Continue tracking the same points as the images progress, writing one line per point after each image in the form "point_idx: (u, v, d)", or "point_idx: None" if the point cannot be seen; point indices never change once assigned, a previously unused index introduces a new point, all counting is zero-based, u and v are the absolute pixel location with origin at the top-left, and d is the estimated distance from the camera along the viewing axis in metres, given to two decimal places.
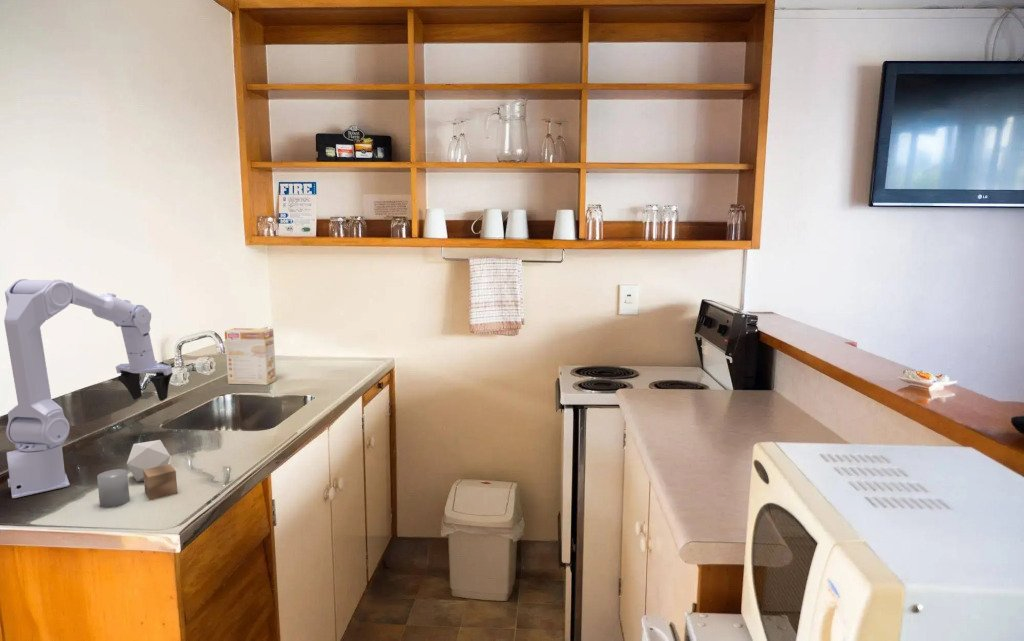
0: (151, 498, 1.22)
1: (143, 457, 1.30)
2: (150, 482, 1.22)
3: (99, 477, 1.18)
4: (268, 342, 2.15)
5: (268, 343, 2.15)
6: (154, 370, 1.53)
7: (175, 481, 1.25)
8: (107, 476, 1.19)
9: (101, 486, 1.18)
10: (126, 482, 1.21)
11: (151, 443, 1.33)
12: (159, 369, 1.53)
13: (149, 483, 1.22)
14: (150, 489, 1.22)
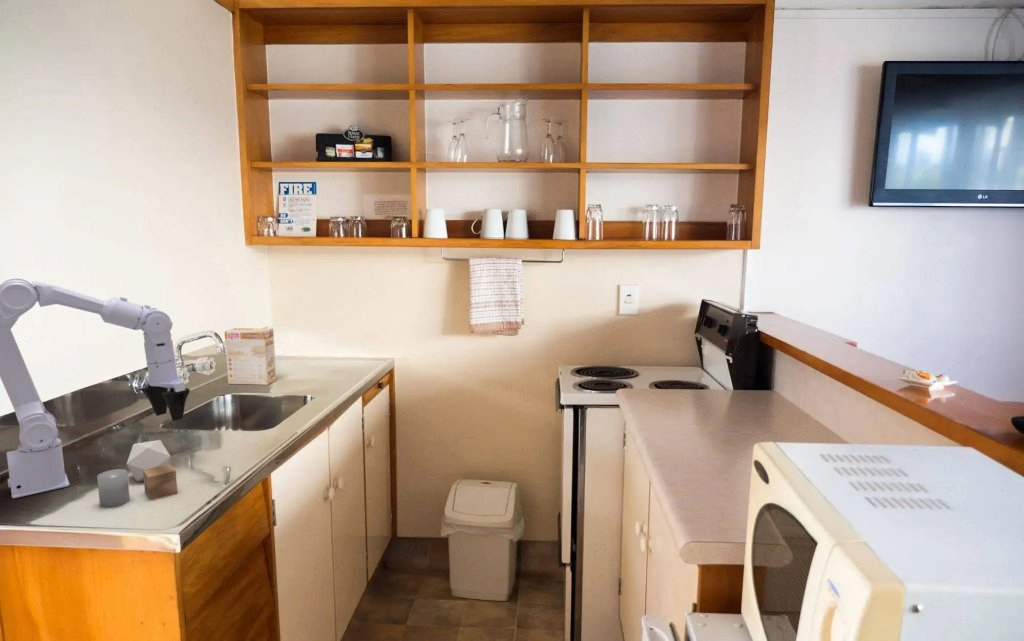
0: (151, 498, 1.22)
1: (143, 457, 1.30)
2: (150, 482, 1.22)
3: (99, 477, 1.18)
4: (268, 342, 2.15)
5: (268, 343, 2.15)
6: (166, 385, 1.37)
7: (175, 481, 1.25)
8: (107, 476, 1.19)
9: (101, 486, 1.18)
10: (126, 482, 1.21)
11: (151, 443, 1.33)
12: (170, 384, 1.37)
13: (149, 483, 1.22)
14: (150, 489, 1.22)
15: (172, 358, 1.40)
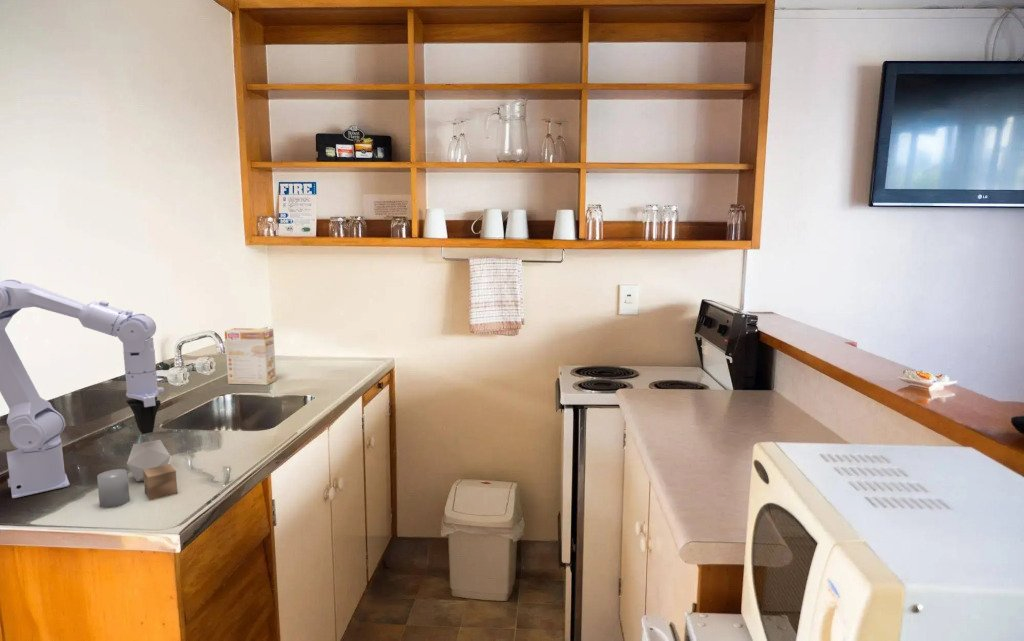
0: (151, 498, 1.22)
1: (143, 457, 1.30)
2: (150, 482, 1.22)
3: (99, 477, 1.18)
4: (268, 342, 2.15)
5: (268, 343, 2.15)
6: (138, 398, 1.27)
7: (175, 481, 1.25)
8: (107, 476, 1.19)
9: (101, 486, 1.18)
10: (126, 482, 1.21)
11: (151, 443, 1.33)
12: (141, 398, 1.26)
13: (149, 483, 1.22)
14: (150, 489, 1.22)
15: (148, 370, 1.29)
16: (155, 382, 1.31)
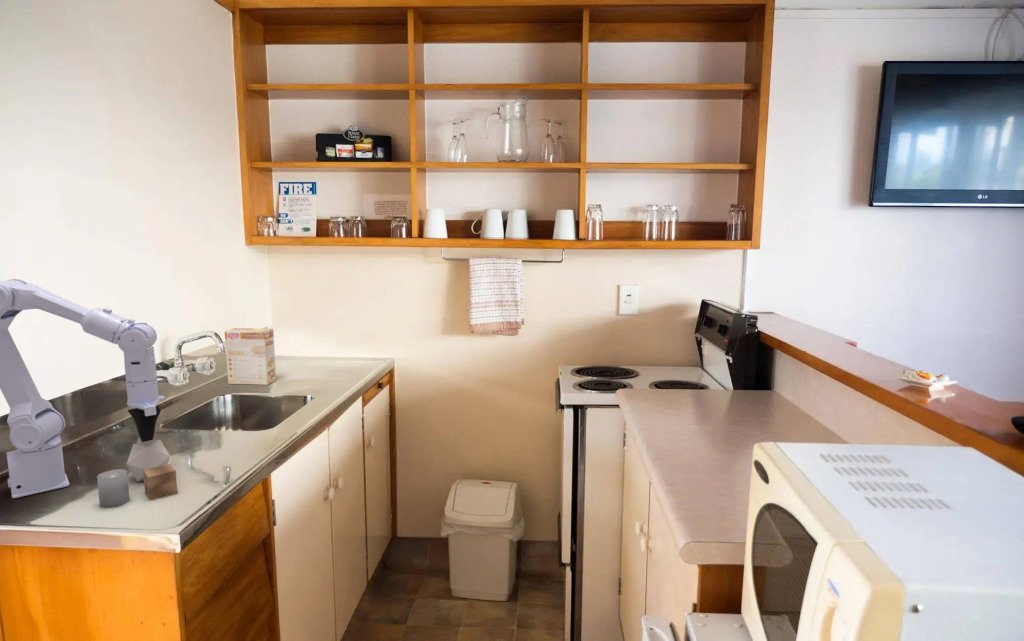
0: (151, 498, 1.22)
1: (143, 457, 1.30)
2: (150, 482, 1.22)
3: (99, 477, 1.18)
4: (268, 342, 2.15)
5: (268, 343, 2.15)
6: (138, 407, 1.27)
7: (175, 481, 1.25)
8: (107, 476, 1.19)
9: (101, 486, 1.18)
10: (126, 482, 1.21)
11: (151, 443, 1.33)
12: (142, 407, 1.26)
13: (149, 483, 1.22)
14: (150, 489, 1.22)
15: (149, 378, 1.29)
16: (156, 391, 1.31)
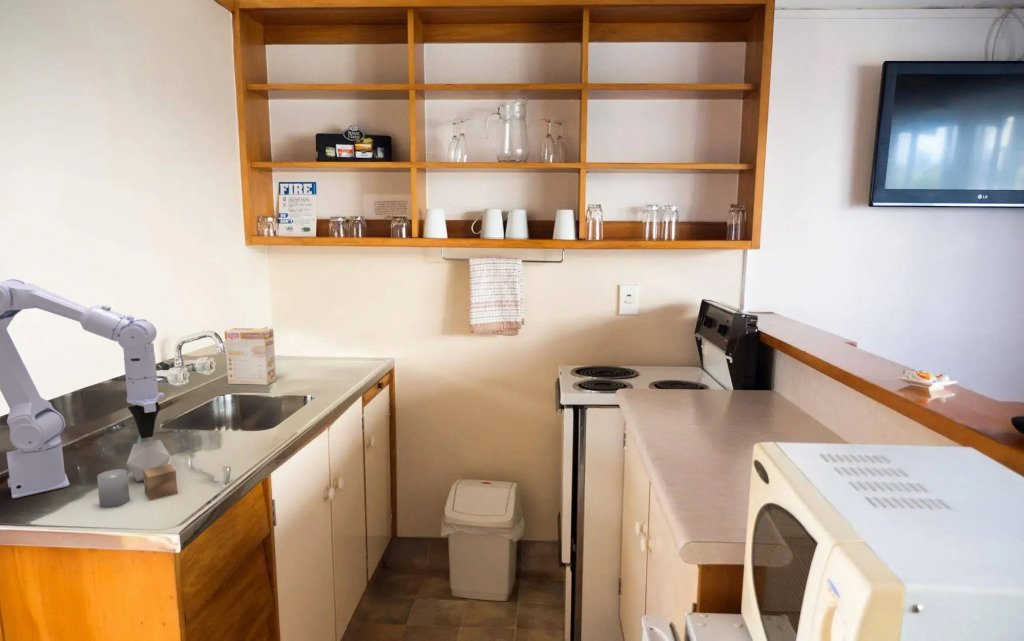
0: (151, 498, 1.22)
1: (143, 457, 1.30)
2: (150, 482, 1.22)
3: (99, 477, 1.18)
4: (268, 342, 2.15)
5: (268, 343, 2.15)
6: (138, 403, 1.27)
7: (175, 481, 1.25)
8: (107, 476, 1.19)
9: (101, 486, 1.18)
10: (126, 482, 1.21)
11: (151, 443, 1.33)
12: (141, 403, 1.26)
13: (149, 483, 1.22)
14: (150, 489, 1.22)
15: (149, 375, 1.29)
16: (155, 387, 1.31)
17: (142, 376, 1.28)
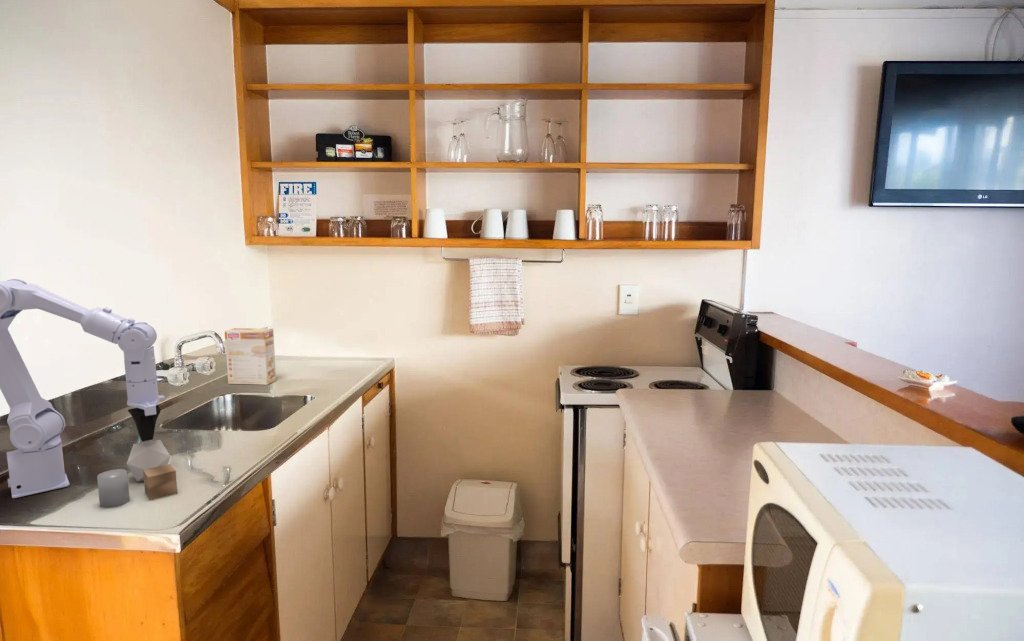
0: (151, 498, 1.22)
1: (143, 457, 1.30)
2: (150, 482, 1.22)
3: (99, 477, 1.18)
4: (268, 342, 2.15)
5: (268, 343, 2.15)
6: (138, 406, 1.27)
7: (175, 481, 1.25)
8: (107, 476, 1.19)
9: (101, 486, 1.18)
10: (126, 482, 1.21)
11: (151, 443, 1.33)
12: (142, 406, 1.26)
13: (149, 483, 1.22)
14: (150, 489, 1.22)
15: (149, 378, 1.29)
16: (156, 390, 1.31)
17: (142, 379, 1.28)
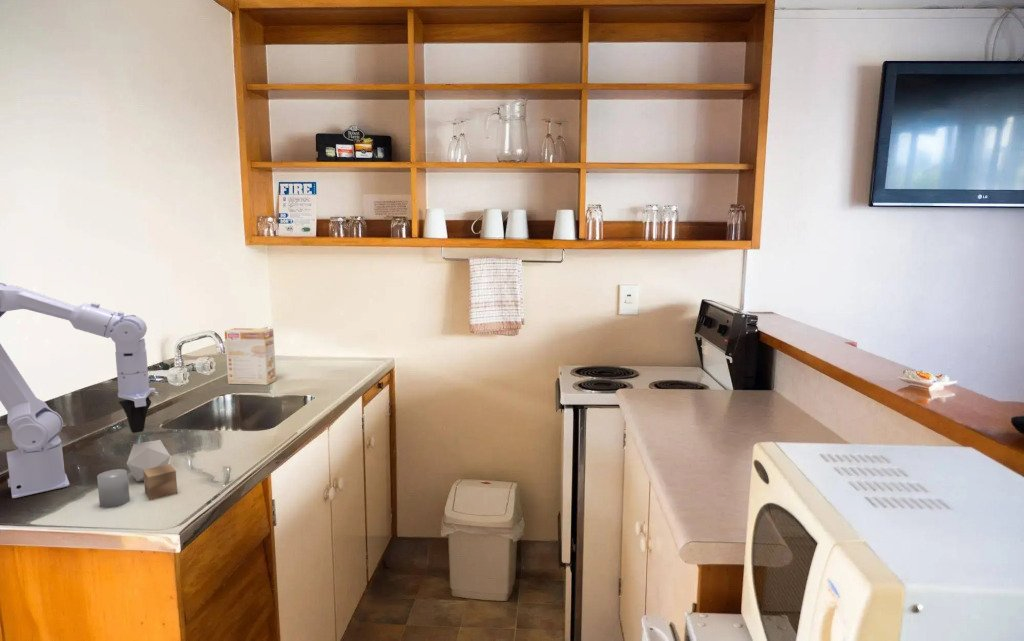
0: (151, 498, 1.22)
1: (143, 457, 1.30)
2: (150, 482, 1.22)
3: (99, 477, 1.18)
4: (268, 342, 2.15)
5: (268, 343, 2.15)
6: (129, 398, 1.28)
7: (175, 481, 1.25)
8: (107, 476, 1.19)
9: (101, 486, 1.18)
10: (126, 482, 1.21)
11: (151, 443, 1.33)
12: (132, 398, 1.27)
13: (149, 483, 1.22)
14: (150, 489, 1.22)
15: (141, 370, 1.31)
16: (146, 383, 1.32)
17: (135, 371, 1.30)
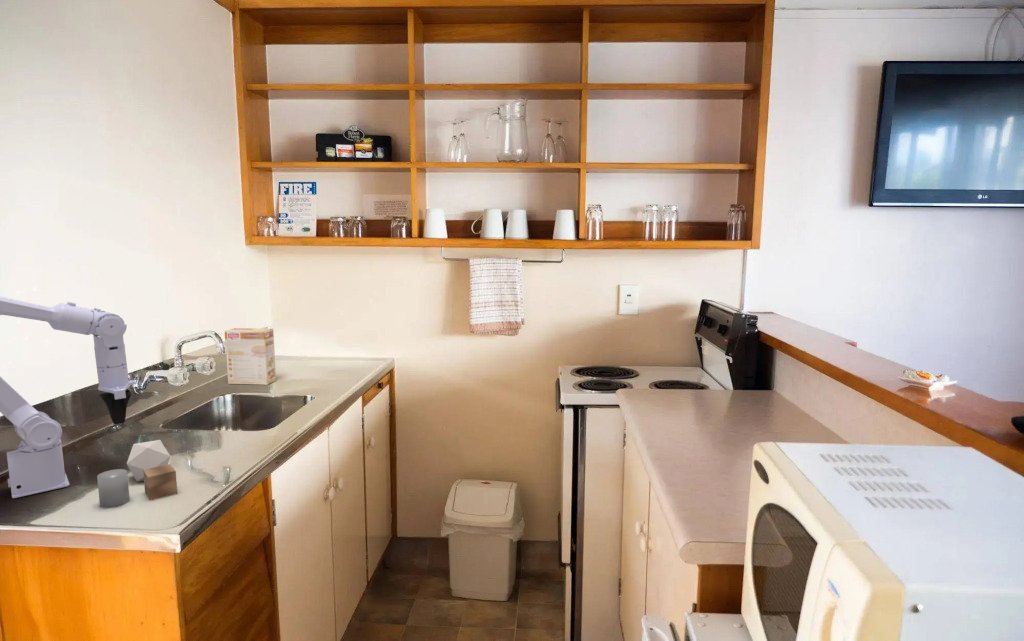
0: (151, 498, 1.22)
1: (143, 457, 1.30)
2: (150, 482, 1.22)
3: (99, 477, 1.18)
4: (268, 342, 2.15)
5: (268, 343, 2.15)
6: (109, 391, 1.32)
7: (175, 481, 1.25)
8: (107, 476, 1.19)
9: (101, 486, 1.18)
10: (126, 482, 1.21)
11: (151, 443, 1.33)
12: (112, 391, 1.32)
13: (149, 483, 1.22)
14: (150, 489, 1.22)
15: (124, 362, 1.36)
16: (126, 375, 1.37)
17: (120, 363, 1.35)
